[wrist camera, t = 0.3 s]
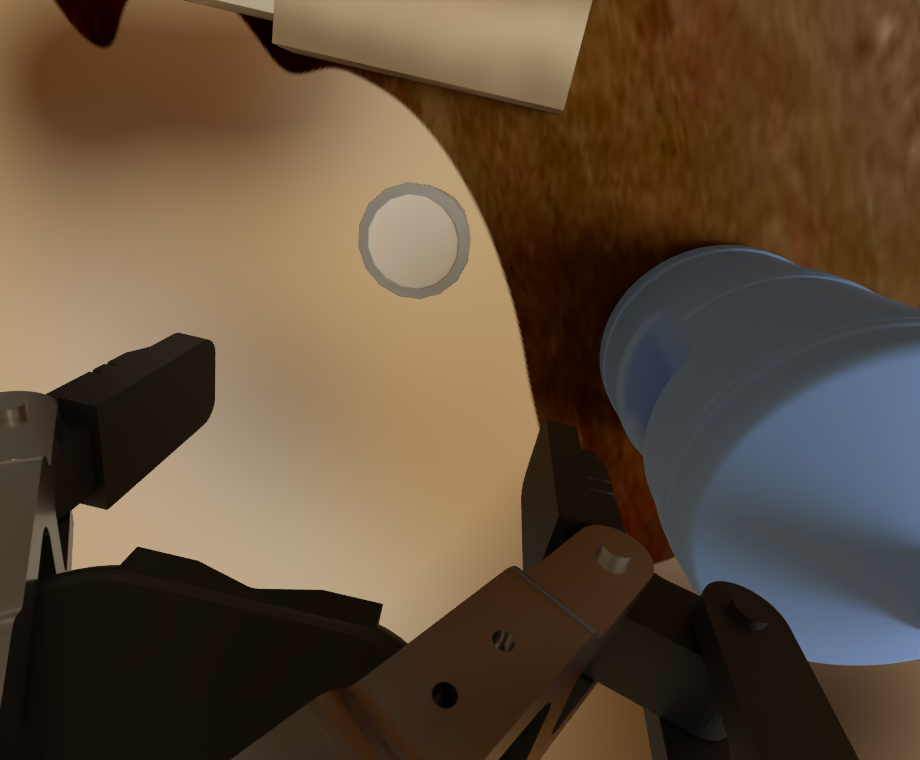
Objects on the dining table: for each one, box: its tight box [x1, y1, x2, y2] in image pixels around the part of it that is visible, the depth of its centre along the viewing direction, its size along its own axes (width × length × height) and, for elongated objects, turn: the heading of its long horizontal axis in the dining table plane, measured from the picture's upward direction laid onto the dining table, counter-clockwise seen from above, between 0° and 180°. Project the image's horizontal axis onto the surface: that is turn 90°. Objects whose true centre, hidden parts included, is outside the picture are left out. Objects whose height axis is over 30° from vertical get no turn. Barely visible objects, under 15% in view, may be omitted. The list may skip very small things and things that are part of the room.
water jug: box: [600, 245, 920, 665], centre depth 26 cm, size 16×16×28 cm
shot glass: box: [359, 182, 470, 299], centre depth 34 cm, size 7×7×7 cm
